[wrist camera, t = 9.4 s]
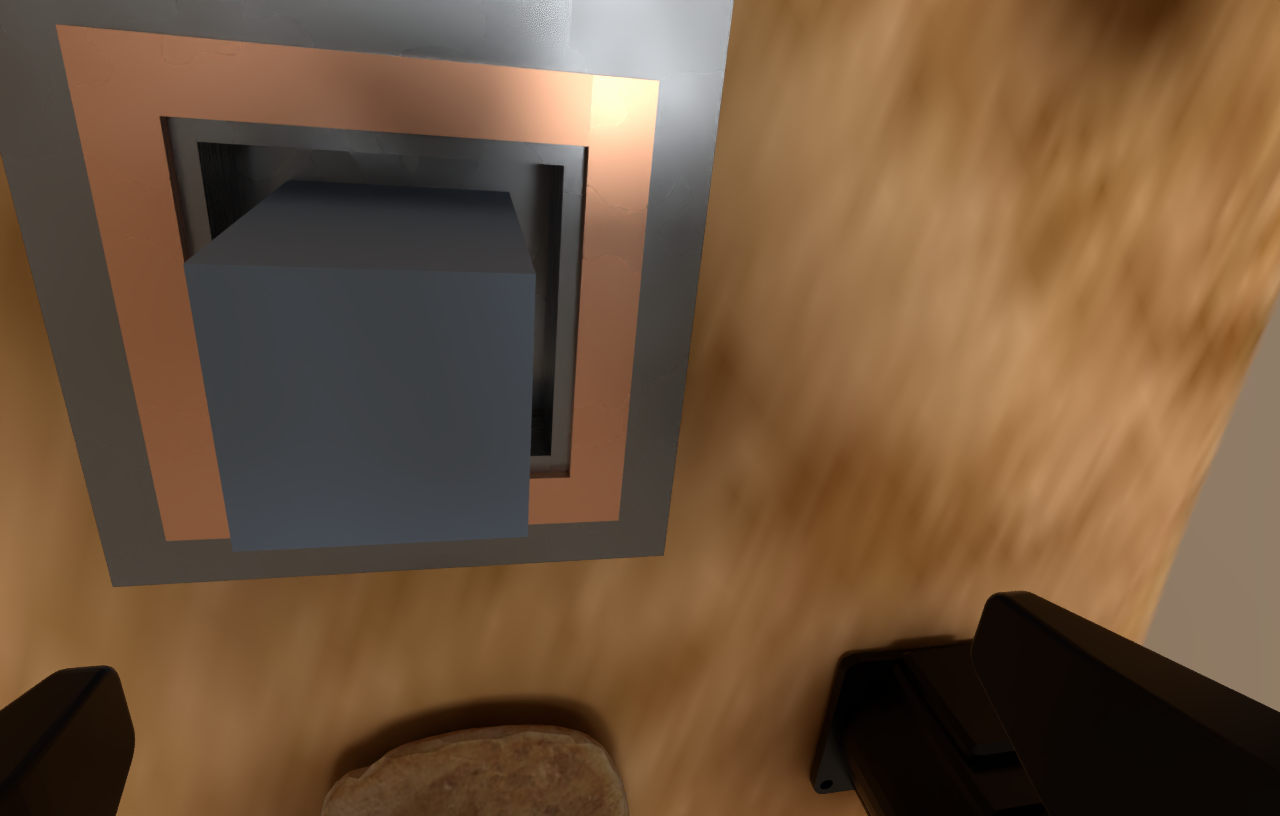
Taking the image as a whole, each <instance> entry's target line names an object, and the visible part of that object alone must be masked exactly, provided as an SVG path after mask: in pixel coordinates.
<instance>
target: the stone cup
mask: <svg viewBox="0 0 1280 816" xmlns="http://www.w3.org/2000/svg"><path fill="white" fill-rule="evenodd" d="M320 816H629V811H628V804H627V797H626V793H625V790H624V786H623V782H622V780H621V777H620V775H619V773H618V771H617V769H616V767H615V764H614V762H613V760H612V759H611V757H610V756H609V754H608V753H607V751H606V749H605V748H604V746H603V745H601V744H600V743H599V742H597V741H596V740H594V739H593V738H592V737H590V736H589V735H587V734H585V733H582V732H580V731H577V730H573V729H568V728H564V727H559V726H553V725H503V726H493V727H481V728H470V729H464V730H459V731H454V732H449V733H444V734H440V735H436V736H432V737H428V738H423V739H420V740H416V741H413V742H409V743H406V744H403V745H401V746H399V747H397V748H395V749H393V750H391V751H389V752H387V753H386V754H385V755H384V756H383V757H382V758H381V759H379V760H378V761H377V762H375V763H374V764H372V765H370V766H367V767H363V768H359V769H355V770H352V771H349V772H348V773H346V774H345V775H344V776H343V777H342V778H340V779H339V780H338V781H337V782H335V784H334V785H333V787H332V788H331V789H330V791H329V792H328V793H327V795H326V796H325V800H324V803H323V807H322V810H321V814H320Z"/></svg>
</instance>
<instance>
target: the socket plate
mask: <svg viewBox="0 0 1280 816" xmlns="http://www.w3.org/2000/svg"><path fill="white" fill-rule="evenodd" d="M733 2H734V0H0V152H1V156H2V160H3V164H4V168H5V172H6V175H7V179H8V183H9V187H10V191H11V195H12V199H13V203H14V206H15V210H16V214H17V218H18V222H19V226H20V230H21V233H22V237H23V241H24V245H25V249H26V253H27V257H28V261H29V264H30V268H31V272H32V276H33V280H34V284H35V288H36V292H37V295H38V299H39V303H40V307H41V311H42V315H43V319H44V322H45V326H46V330H47V334H48V338H49V342H50V346H51V350H52V353H53V357H54V361H55V365H56V369H57V373H58V377H59V381H60V384H61V388H62V392H63V396H64V400H65V404H66V408H67V411H68V415H69V419H70V423H71V427H72V431H73V435H74V439H75V442H76V446H77V450H78V454H79V458H80V462H81V466H82V470H83V473H84V477H85V481H86V485H87V489H88V493H89V497H90V500H91V504H92V508H93V512H94V516H95V520H96V524H97V528H98V531H99V535H100V539H101V543H102V547H103V551H104V555H105V559H106V562H107V566H108V570H109V574H110V578H111V582H112V586H113V587H122V586H139V585H157V584H174V583H192V582H209V581H227V580H244V579H262V578H279V577H297V576H314V575H332V574H349V573H366V572H384V571H401V570H419V569H436V568H454V567H471V566H489V565H506V564H524V563H541V562H559V561H576V560H594V559H611V558H628V557H646V556H663V555H664V549H665V541H666V533H667V525H668V517H669V509H670V501H671V493H672V485H673V478H674V470H675V462H676V454H677V446H678V438H679V430H680V422H681V414H682V406H683V398H684V390H685V382H686V374H687V366H688V359H689V351H690V343H691V335H692V327H693V319H694V311H695V303H696V295H697V287H698V279H699V271H700V263H701V255H702V248H703V240H704V232H705V224H706V216H707V208H708V200H709V192H710V184H711V176H712V168H713V160H714V152H715V144H716V137H717V129H718V121H719V113H720V105H721V97H722V89H723V81H724V73H725V65H726V57H727V49H728V41H729V33H730V26H731V18H732V10H733ZM288 180H297V181H316V182H334V183H353V184H372V185H390V186H409V187H427V188H446V189H464V190H483V191H502V192H509V193H510V197H511V200H512V203H513V206H514V209H515V212H516V215H517V218H518V221H519V224H520V227H521V230H522V233H523V236H524V239H525V243H526V246H527V249H528V252H529V255H530V258H531V261H532V264H533V267H534V270H535V273H536V283H535V316H534V350H533V383H532V417H531V450H530V483H529V517H528V537H516V538H496V539H477V540H457V541H437V542H418V543H398V544H378V545H358V546H339V547H319V548H299V549H280V550H260V551H240V552H233V550H232V544H231V538H230V532H229V527H228V521H227V515H226V509H225V503H224V498H223V492H222V486H221V480H220V475H219V469H218V463H217V457H216V451H215V446H214V440H213V434H212V428H211V422H210V417H209V411H208V405H207V399H206V393H205V388H204V382H203V376H202V370H201V364H200V359H199V353H198V347H197V341H196V335H195V330H194V324H193V318H192V312H191V306H190V301H189V295H188V289H187V283H186V277H185V272H184V266H183V263H185V262H186V261H187V260H188V259H190V258H191V257H192V256H193V255H195V254H196V253H197V252H198V251H200V250H201V249H202V248H204V247H205V246H206V245H207V244H209V243H210V242H211V241H212V240H214V239H215V238H216V237H217V236H219V235H220V234H221V233H222V232H224V231H225V230H226V229H227V228H229V227H230V226H231V225H232V224H234V223H235V222H236V221H237V220H239V219H240V218H241V217H242V216H244V215H245V214H246V213H247V212H249V211H250V210H251V209H252V208H254V207H255V206H256V205H257V204H259V203H260V202H261V201H262V200H264V199H265V198H266V197H267V196H269V195H270V194H271V193H272V192H274V191H275V190H276V189H278V188H279V187H280V186H281V185H283V184H284V183H285V182H286V181H288Z"/></svg>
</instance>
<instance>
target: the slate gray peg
mask: <svg viewBox="0 0 1280 816" xmlns="http://www.w3.org/2000/svg"><path fill="white" fill-rule="evenodd" d="M183 266H184V272H185V277H186V283H187V289H188V295H189V301H190V306H191V312H192V318H193V324H194V330H195V335H196V341H197V347H198V353H199V359H200V364H201V370H202V376H203V382H204V388H205V393H206V399H207V405H208V411H209V417H210V422H211V428H212V434H213V440H214V446H215V451H216V457H217V463H218V469H219V475H220V480H221V486H222V492H223V498H224V503H225V509H226V515H227V521H228V527H229V532H230V538H231V544H232V550H233V552H240V551H260V550H280V549H299V548H319V547H339V546H358V545H378V544H398V543H418V542H437V541H457V540H477V539H496V538H516V537H528V517H529V483H530V450H531V417H532V383H533V350H534V316H535V283H536V273H535V270H534V267H533V264H532V261H531V258H530V255H529V252H528V249H527V246H526V243H525V239H524V236H523V233H522V230H521V227H520V224H519V221H518V218H517V215H516V212H515V209H514V206H513V203H512V200H511V197H510V193H509V192H502V191H483V190H464V189H446V188H427V187H409V186H390V185H372V184H353V183H334V182H316V181H297V180H288V181H286V182H285V183H284V184H283V185H281V186H280V187H279V188H278V189H276V190H275V191H274V192H272V193H271V194H270V195H269V196H267V197H266V198H265V199H264V200H262V201H261V202H260V203H259V204H257V205H256V206H255V207H254V208H252V209H251V210H250V211H249V212H247V213H246V214H245V215H244V216H242V217H241V218H240V219H239V220H237V221H236V222H235V223H234V224H232V225H231V226H230V227H229V228H227V229H226V230H225V231H224V232H222V233H221V234H220V235H219V236H217V237H216V238H215V239H214V240H212V241H211V242H210V243H209V244H207V245H206V246H205V247H204V248H202V249H201V250H200V251H198V252H197V253H196V254H195V255H193V256H192V257H191V258H190V259H188V260H187V261H186V262H185V263H183Z"/></svg>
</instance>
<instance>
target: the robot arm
mask: <svg viewBox="0 0 1280 816" xmlns="http://www.w3.org/2000/svg"><path fill="white" fill-rule="evenodd" d="M134 748H135V732H134V727H133V723H132V720H131V716H130V713H129V709H128V706H127V702H126V698H125V695H124V691H123V688H122V684H121V681H120V678H119V676H118V673H117V672H116V671H115V669H114V668H112V667H109V666H104V665H102V666H89V667H77V668H67V669H62V670H59V671H57V672H55V673H53V674H51V675H50V676H48V677H47V678H45V679H44V680H42V681H41V682H40V683H38V684H37V685H35V686H34V687H33V688H31V689H30V690H28V691H27V692H26V693H24V694H23V695H21V696H20V697H18V698H17V699H16V700H14V701H13V702H11V703H10V704H9V705H7V706H6V707H4V708H3V709H2V710H0V816H116V813H117V810H118V806H119V803H120V799H121V796H122V793H123V789H124V786H125V783H126V779H127V776H128V772H129V769H130V766H131V762H132V758H133V754H134ZM810 782H811V784H812V786H813V788H814V790H815V791H816V793H819V794H826V793H833V792H841V791H848V790H855V792H856V794H857V796H858V798H859V799H860V801H861V803H862V805H863V807H864V809H865V811H866V813H867V815H868V816H1280V712H1278V711H1276V710H1274V709H1272V708H1270V707H1268V706H1266V705H1264V704H1262V703H1260V702H1257V701H1255V700H1253V699H1251V698H1249V697H1247V696H1245V695H1243V694H1241V693H1239V692H1237V691H1235V690H1233V689H1230V688H1228V687H1226V686H1224V685H1222V684H1220V683H1218V682H1216V681H1214V680H1212V679H1210V678H1208V677H1206V676H1203V675H1201V674H1199V673H1197V672H1195V671H1193V670H1191V669H1189V668H1187V667H1185V666H1183V665H1180V664H1178V663H1176V662H1174V661H1172V660H1170V659H1168V658H1166V657H1164V656H1162V655H1160V654H1158V653H1156V652H1154V651H1152V650H1149V649H1147V648H1145V647H1143V646H1141V645H1139V644H1137V643H1135V642H1133V641H1131V640H1129V639H1127V638H1124V637H1122V636H1120V635H1118V634H1116V633H1114V632H1112V631H1110V630H1108V629H1106V628H1104V627H1102V626H1100V625H1097V624H1095V623H1093V622H1091V621H1089V620H1087V619H1085V618H1083V617H1081V616H1079V615H1077V614H1075V613H1073V612H1070V611H1068V610H1066V609H1064V608H1062V607H1060V606H1058V605H1056V604H1054V603H1052V602H1050V601H1048V600H1046V599H1043V598H1041V597H1039V596H1037V595H1035V594H1033V593H1031V592H1027V591H1011V592H999V593H995V594H993V595H991V596H990V597H989V599H988V600H987V601H986V604H985V606H984V609H983V612H982V615H981V618H980V621H979V624H978V627H977V630H976V633H975V636H974V639H973V642H972V643H967V644H956V645H946V646H935V647H924V648H914V649H903V650H893V651H882V652H871V653H861V654H854V655H850V656H848V657H847V658H845V659H844V660H843V661H842V662H841V664H840V666H839V670H838V674H837V677H836V681H835V685H834V689H833V692H832V696H831V700H830V704H829V707H828V711H827V715H826V719H825V722H824V726H823V730H822V734H821V737H820V741H819V745H818V748H817V752H816V756H815V760H814V763H813V767H812V771H811V775H810Z"/></svg>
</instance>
